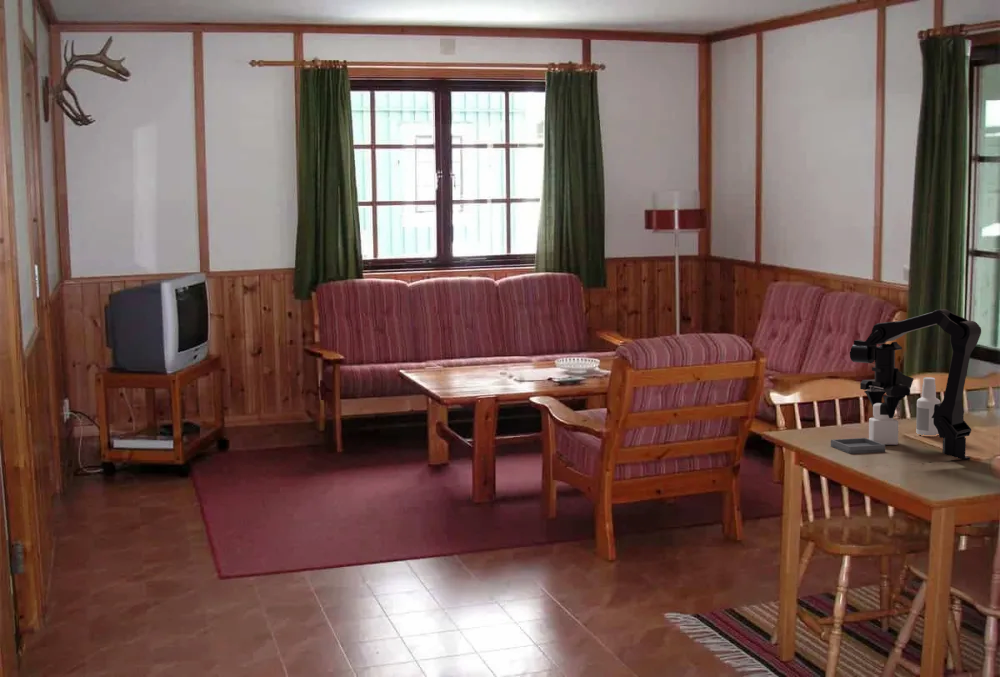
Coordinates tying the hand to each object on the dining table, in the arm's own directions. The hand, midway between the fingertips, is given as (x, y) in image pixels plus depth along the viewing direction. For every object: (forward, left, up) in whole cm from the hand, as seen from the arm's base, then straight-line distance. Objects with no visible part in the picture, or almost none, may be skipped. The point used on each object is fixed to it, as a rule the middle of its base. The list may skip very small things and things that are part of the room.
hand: (884, 416), depth 356 cm
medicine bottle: (-1, +1, -8) cm, 8 cm away
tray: (-6, +12, -8) cm, 16 cm away
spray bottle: (+7, -19, -8) cm, 22 cm away
